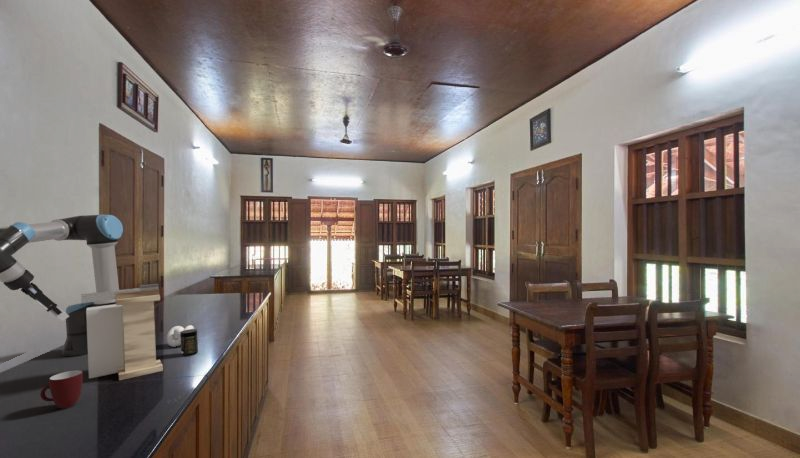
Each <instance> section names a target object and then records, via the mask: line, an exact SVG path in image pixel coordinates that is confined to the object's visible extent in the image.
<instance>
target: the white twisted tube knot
mask: <svg viewBox="0 0 800 458" xmlns="http://www.w3.org/2000/svg"><path fill="white" fill-rule="evenodd" d="M189 329H195V327H194V325H191V324H190V325H187V326H185V328H184V327H183V326H181V325H176V326H173V327H171V328H170V330H168V332H167V334H166V342H167V345H168V346H170V347H172V348H177V347H179V346H181V337H180V332H181V331H184V330H189ZM176 346H177V347H176Z"/></svg>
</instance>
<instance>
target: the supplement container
mask: <svg viewBox="0 0 800 458" xmlns="http://www.w3.org/2000/svg"><path fill="white" fill-rule="evenodd" d="M180 337H181V345H180V354H181V356H182V357H191V356H196V355H197V354H198V352H199V346H198V343H199V342H198V341H199V340H198V329H197V328H194V329H189V330H184V331H181V332H180Z"/></svg>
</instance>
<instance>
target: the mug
mask: <svg viewBox="0 0 800 458" xmlns="http://www.w3.org/2000/svg"><path fill="white" fill-rule="evenodd" d="M83 373H84V372H83V370H77V369H75V370H69V371H64V372H60V373H57V374H55V375H52V376H51V377H49V379H48V380H49V381H48V385H45V386H44V387H43V388H42V389H41V391H40V394H39V395H40V398H41V399H42V401H45V402H53V404H54V405H56V406H57V408H58V409H59V408H60V410H65V409H64V408H66V409H69V408H72V407H73V406H75V405H76V404H77V402H78V401H79V399H80V397H81V394H82V388H83V387H82V386H83V380H84V375H83ZM47 390H49V391H50V394H51V397H48V396H47V395H46V391H47Z"/></svg>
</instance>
